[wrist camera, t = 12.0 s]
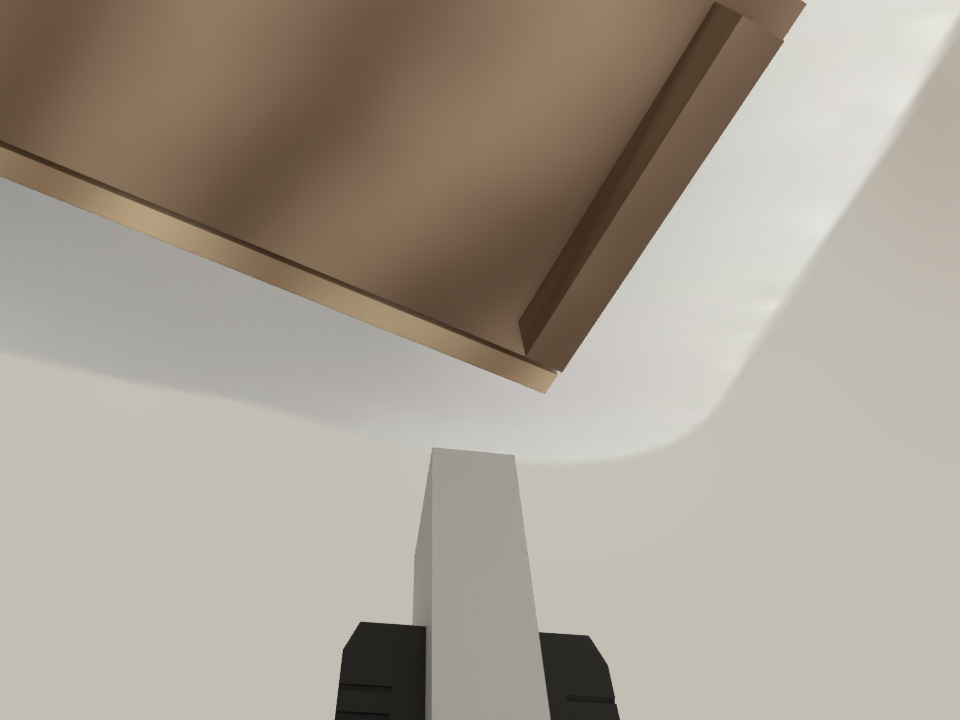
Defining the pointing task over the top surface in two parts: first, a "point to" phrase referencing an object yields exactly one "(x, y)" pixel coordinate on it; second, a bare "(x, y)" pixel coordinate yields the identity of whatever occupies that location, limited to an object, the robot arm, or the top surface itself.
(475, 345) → the wooden box
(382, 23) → the lid
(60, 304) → the top surface
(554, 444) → the top surface
